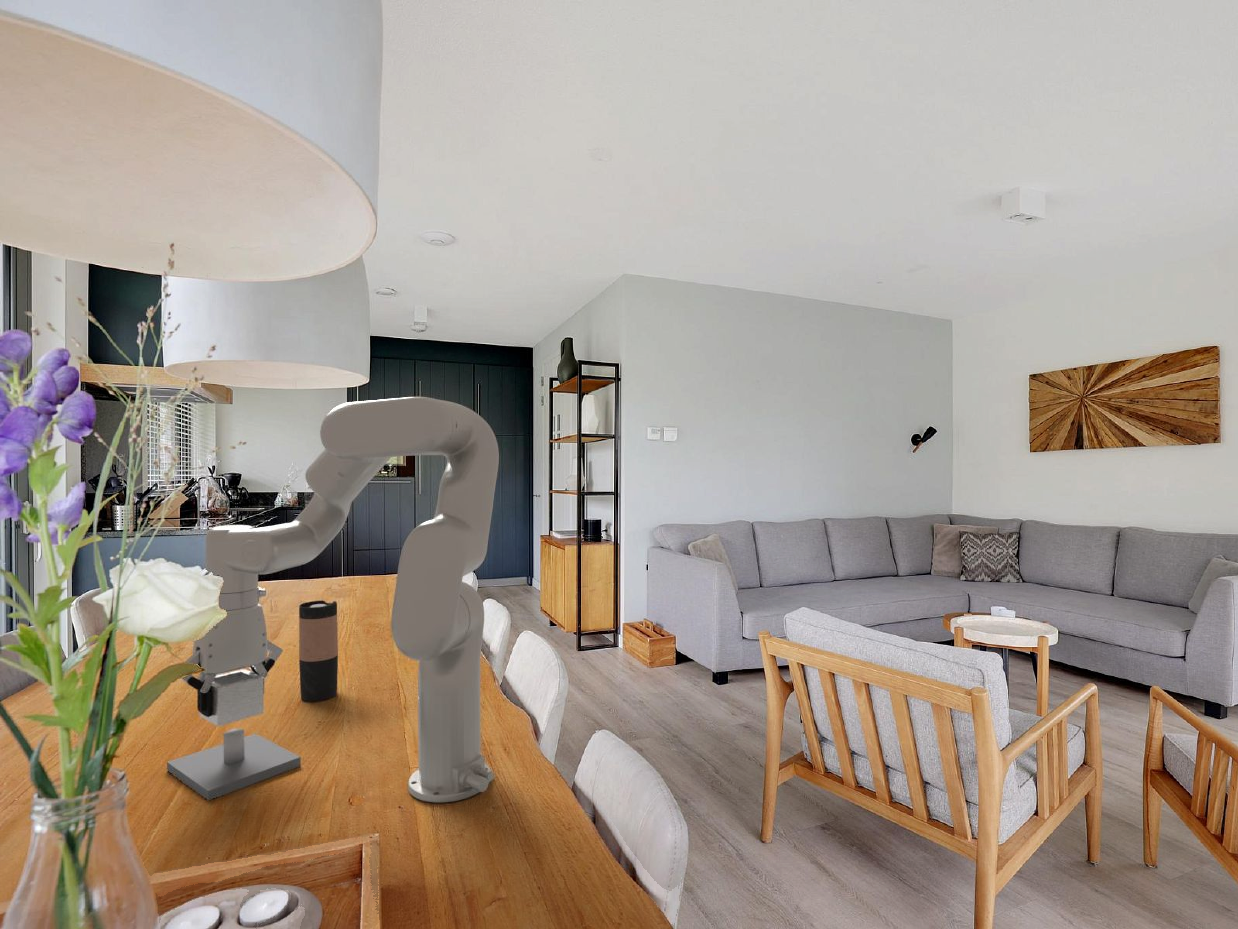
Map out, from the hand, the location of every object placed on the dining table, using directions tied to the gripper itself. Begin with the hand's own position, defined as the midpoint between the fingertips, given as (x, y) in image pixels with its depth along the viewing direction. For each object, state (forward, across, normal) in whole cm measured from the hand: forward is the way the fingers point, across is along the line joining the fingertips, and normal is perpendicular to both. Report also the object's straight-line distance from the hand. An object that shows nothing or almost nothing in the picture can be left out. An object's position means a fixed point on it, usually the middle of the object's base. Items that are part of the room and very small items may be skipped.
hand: (231, 706), depth 109 cm
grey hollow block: (+1, 0, -3) cm, 3 cm away
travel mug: (+11, -26, -21) cm, 35 cm away
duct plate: (+10, 0, 0) cm, 10 cm away
